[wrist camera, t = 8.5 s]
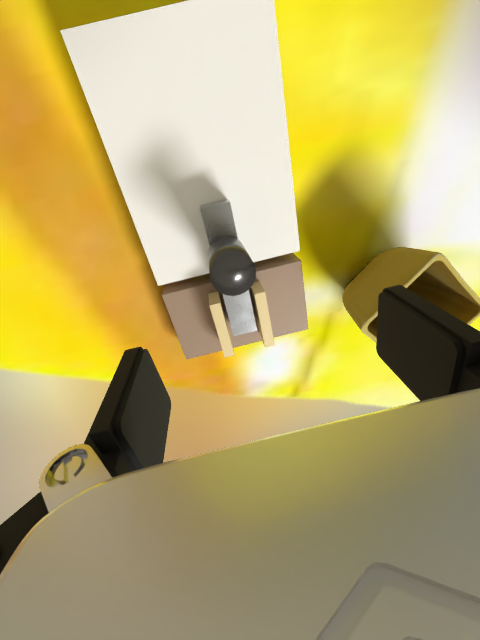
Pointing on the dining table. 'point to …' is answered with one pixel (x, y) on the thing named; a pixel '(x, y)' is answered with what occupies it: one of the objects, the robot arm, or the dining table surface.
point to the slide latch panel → (200, 154)
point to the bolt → (229, 265)
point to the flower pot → (409, 286)
